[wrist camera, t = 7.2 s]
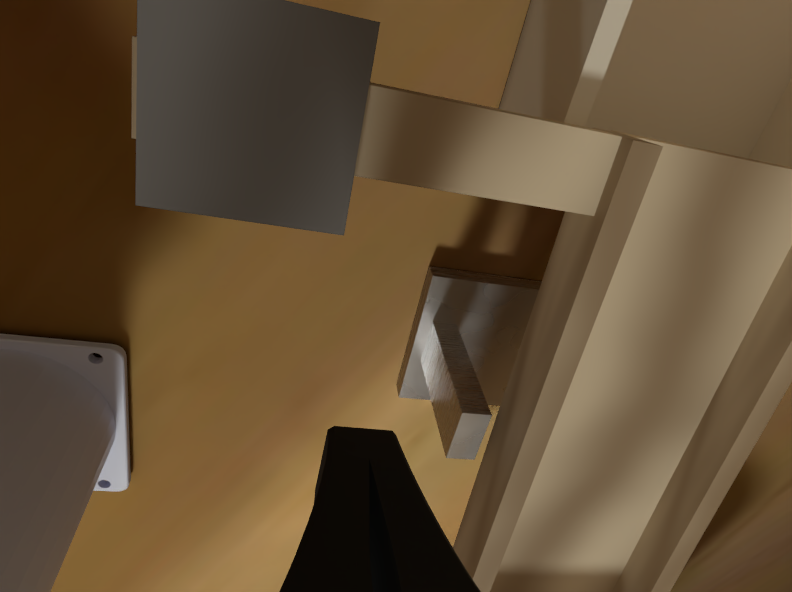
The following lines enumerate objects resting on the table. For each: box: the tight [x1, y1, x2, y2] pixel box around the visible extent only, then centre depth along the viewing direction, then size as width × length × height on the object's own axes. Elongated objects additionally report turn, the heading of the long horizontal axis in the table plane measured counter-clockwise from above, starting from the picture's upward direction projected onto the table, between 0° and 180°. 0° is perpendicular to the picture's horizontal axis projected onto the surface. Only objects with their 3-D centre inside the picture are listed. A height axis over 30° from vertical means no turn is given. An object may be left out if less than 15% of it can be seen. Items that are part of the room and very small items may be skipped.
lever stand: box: [397, 266, 542, 459], centre depth 21 cm, size 12×6×6 cm, turn 78°
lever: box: [131, 0, 792, 592], centre depth 17 cm, size 19×21×3 cm
